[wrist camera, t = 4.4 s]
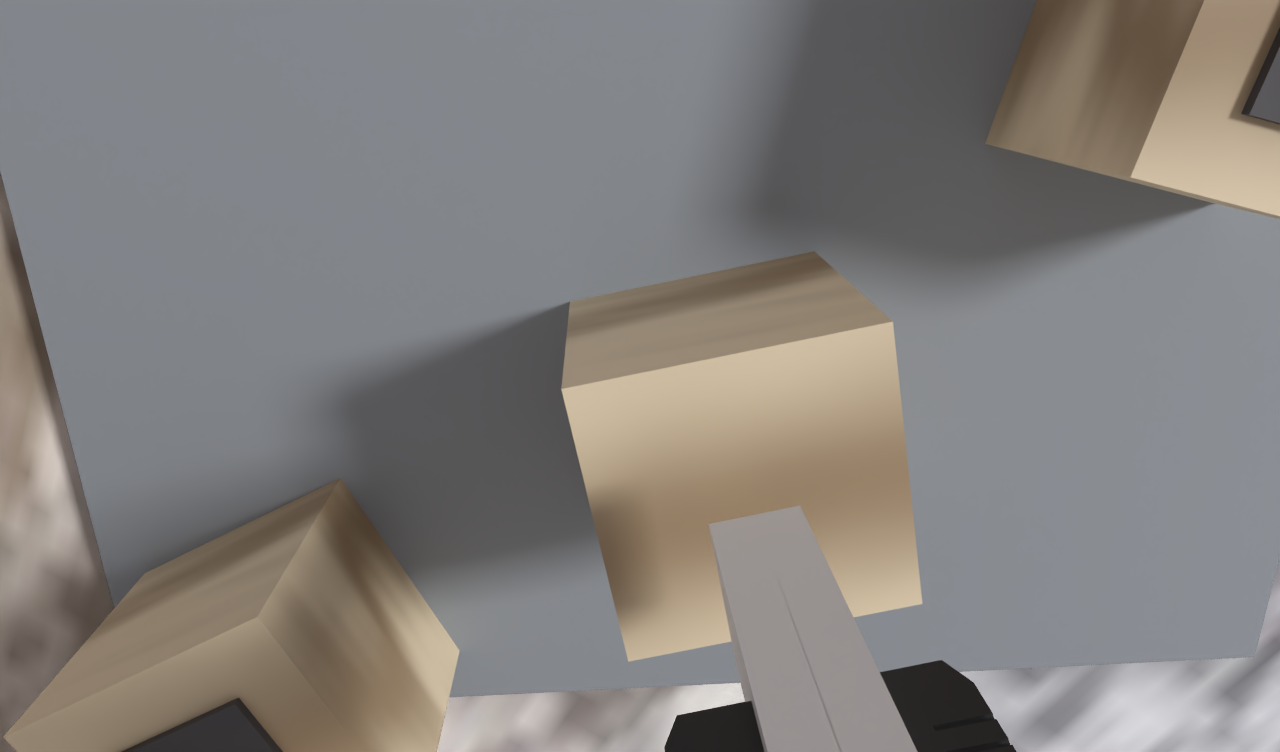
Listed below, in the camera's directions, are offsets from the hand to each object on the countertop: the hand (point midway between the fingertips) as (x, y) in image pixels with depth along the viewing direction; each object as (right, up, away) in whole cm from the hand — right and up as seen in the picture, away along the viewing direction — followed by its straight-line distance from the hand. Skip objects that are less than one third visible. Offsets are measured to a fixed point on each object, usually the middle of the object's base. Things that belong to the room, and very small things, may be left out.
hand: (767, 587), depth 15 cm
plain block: (0, +3, +8) cm, 9 cm away
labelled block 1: (-11, -3, +10) cm, 15 cm away
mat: (0, +4, +8) cm, 9 cm away
